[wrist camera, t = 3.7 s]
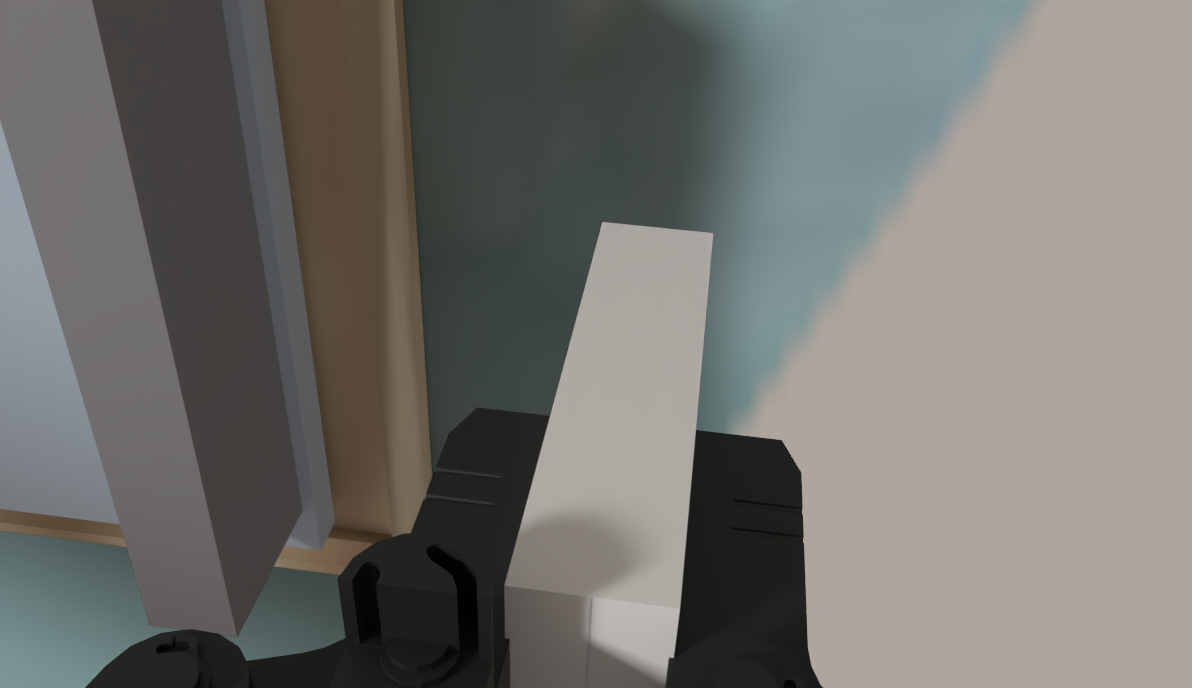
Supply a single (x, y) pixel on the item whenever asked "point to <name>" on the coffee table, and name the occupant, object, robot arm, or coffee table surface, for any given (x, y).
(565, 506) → the robot arm
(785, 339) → the coffee table surface
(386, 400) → the board
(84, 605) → the coffee table surface
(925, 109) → the coffee table surface
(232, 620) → the lid
